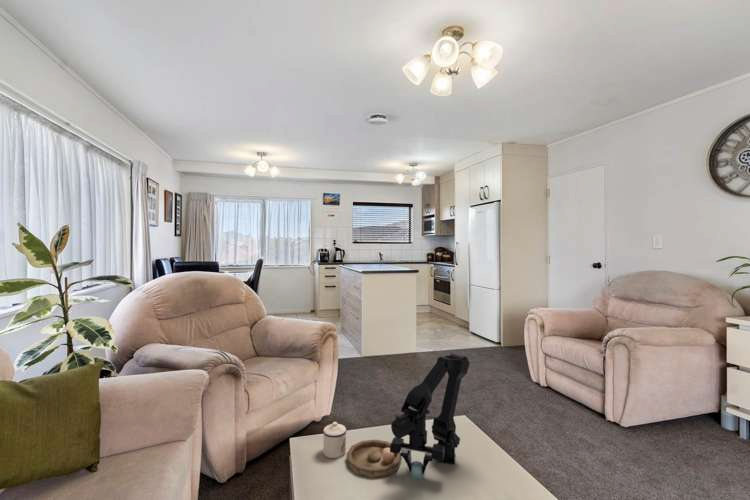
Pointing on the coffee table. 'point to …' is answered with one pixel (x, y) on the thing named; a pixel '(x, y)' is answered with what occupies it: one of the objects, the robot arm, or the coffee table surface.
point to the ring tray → (371, 459)
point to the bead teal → (416, 470)
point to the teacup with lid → (334, 440)
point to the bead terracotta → (388, 456)
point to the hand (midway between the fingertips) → (417, 472)
